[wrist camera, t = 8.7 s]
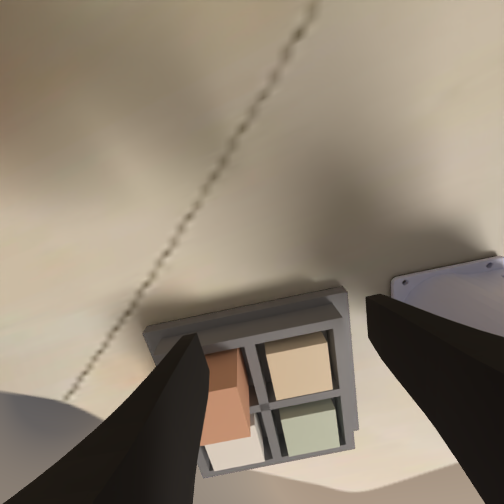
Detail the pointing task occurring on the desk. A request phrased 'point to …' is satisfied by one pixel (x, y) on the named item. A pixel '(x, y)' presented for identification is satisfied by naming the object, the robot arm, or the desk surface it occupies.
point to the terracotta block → (226, 398)
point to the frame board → (257, 366)
